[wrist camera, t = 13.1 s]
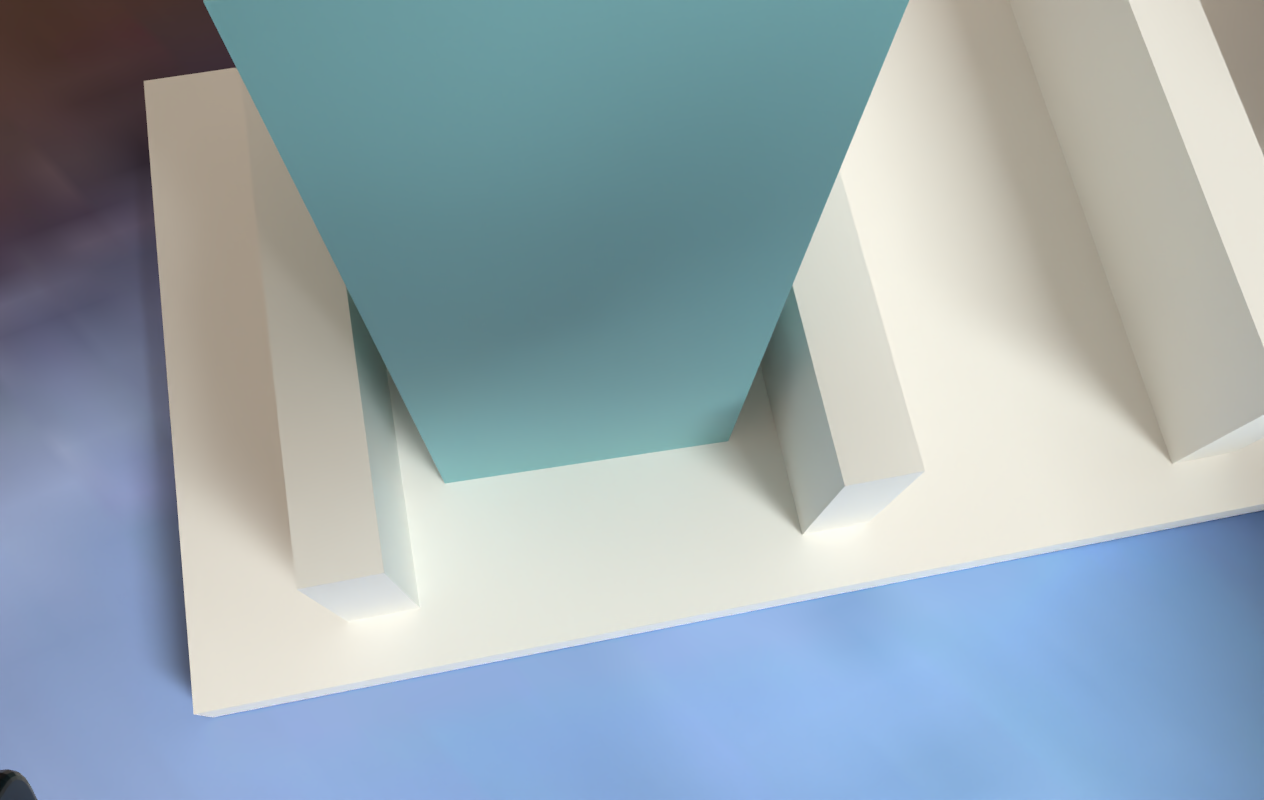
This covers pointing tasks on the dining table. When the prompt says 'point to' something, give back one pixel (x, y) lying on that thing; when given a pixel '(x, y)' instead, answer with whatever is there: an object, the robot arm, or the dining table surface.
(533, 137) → the teal book
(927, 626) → the dining table surface
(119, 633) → the dining table surface
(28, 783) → the robot arm
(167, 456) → the dining table surface
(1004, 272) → the book rack
